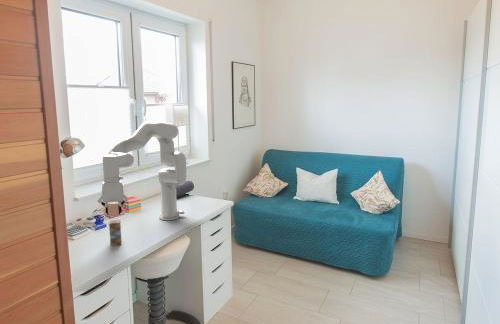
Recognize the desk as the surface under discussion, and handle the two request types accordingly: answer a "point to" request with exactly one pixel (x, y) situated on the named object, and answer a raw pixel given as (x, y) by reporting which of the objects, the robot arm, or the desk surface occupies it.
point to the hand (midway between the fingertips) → (113, 213)
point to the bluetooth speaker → (184, 188)
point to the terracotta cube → (113, 209)
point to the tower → (115, 232)
